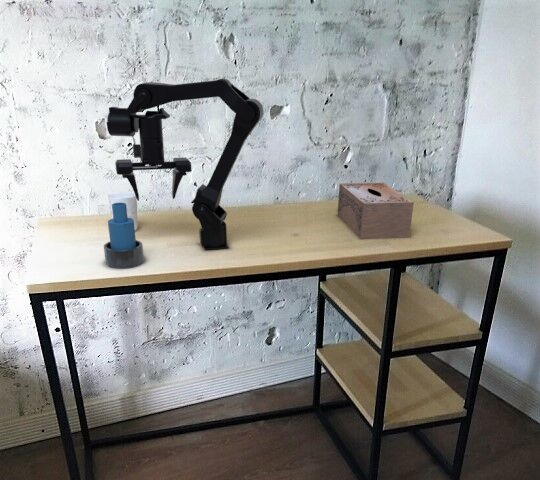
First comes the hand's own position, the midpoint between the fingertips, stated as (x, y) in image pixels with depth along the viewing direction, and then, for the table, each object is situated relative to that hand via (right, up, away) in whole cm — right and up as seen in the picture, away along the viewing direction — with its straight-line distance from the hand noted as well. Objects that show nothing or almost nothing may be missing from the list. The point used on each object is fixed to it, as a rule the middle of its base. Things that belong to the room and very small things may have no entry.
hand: (155, 199), depth 147 cm
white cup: (-12, -5, +17) cm, 22 cm away
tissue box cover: (+61, -2, +24) cm, 65 cm away
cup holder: (-6, -18, -8) cm, 20 cm away
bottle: (-6, -17, -8) cm, 20 cm away
